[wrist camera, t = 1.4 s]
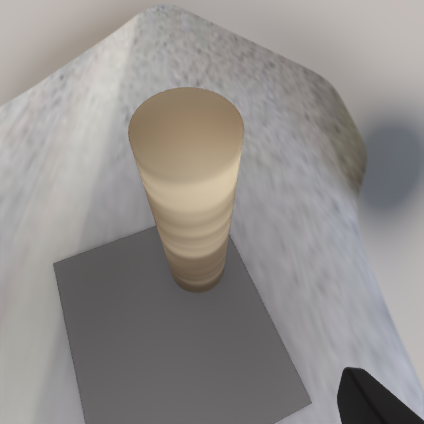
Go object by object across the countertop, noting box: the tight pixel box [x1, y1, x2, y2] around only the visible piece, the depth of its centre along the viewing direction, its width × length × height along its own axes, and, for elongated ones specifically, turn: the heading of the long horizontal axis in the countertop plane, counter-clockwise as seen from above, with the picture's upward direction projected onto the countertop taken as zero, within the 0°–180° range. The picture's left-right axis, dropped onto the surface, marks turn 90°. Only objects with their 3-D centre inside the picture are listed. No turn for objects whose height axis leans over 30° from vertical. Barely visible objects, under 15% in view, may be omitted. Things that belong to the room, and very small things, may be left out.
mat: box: [53, 226, 312, 424], centre depth 20 cm, size 14×12×1 cm
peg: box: [128, 87, 244, 293], centre depth 16 cm, size 4×4×14 cm
